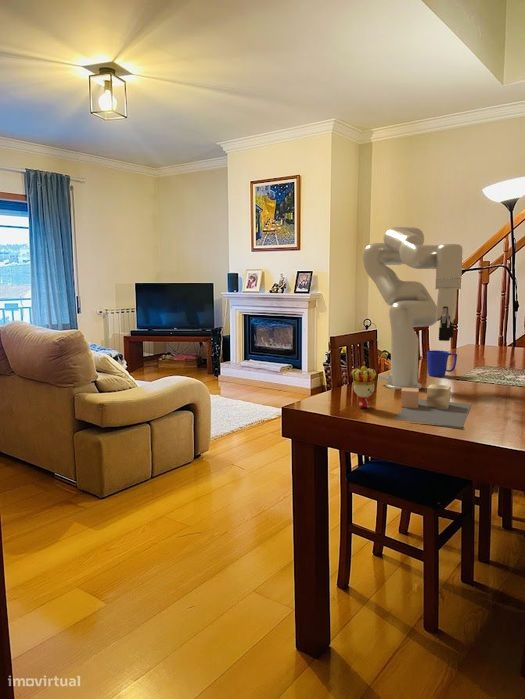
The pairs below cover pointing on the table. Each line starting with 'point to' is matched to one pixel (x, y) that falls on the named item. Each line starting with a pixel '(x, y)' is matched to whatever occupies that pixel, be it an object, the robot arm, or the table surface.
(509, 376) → the table surface
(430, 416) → the mat
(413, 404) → the terracotta block
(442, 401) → the maple block
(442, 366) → the mug
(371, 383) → the toy
